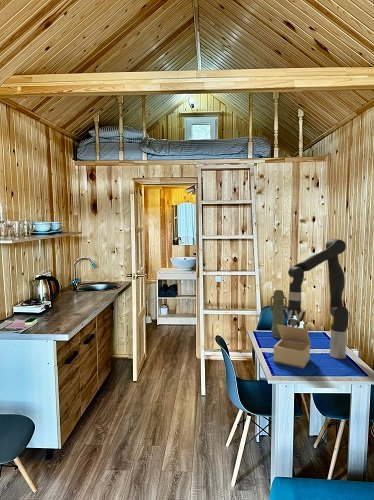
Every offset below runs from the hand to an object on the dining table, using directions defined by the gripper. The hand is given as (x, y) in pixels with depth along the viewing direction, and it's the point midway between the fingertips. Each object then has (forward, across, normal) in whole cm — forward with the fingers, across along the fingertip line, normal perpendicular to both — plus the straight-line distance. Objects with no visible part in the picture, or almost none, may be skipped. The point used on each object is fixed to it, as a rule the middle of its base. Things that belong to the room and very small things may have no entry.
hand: (293, 326), depth 226 cm
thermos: (+20, +22, -43) cm, 52 cm away
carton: (+21, 0, +2) cm, 21 cm away
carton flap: (+5, 0, 0) cm, 5 cm away
